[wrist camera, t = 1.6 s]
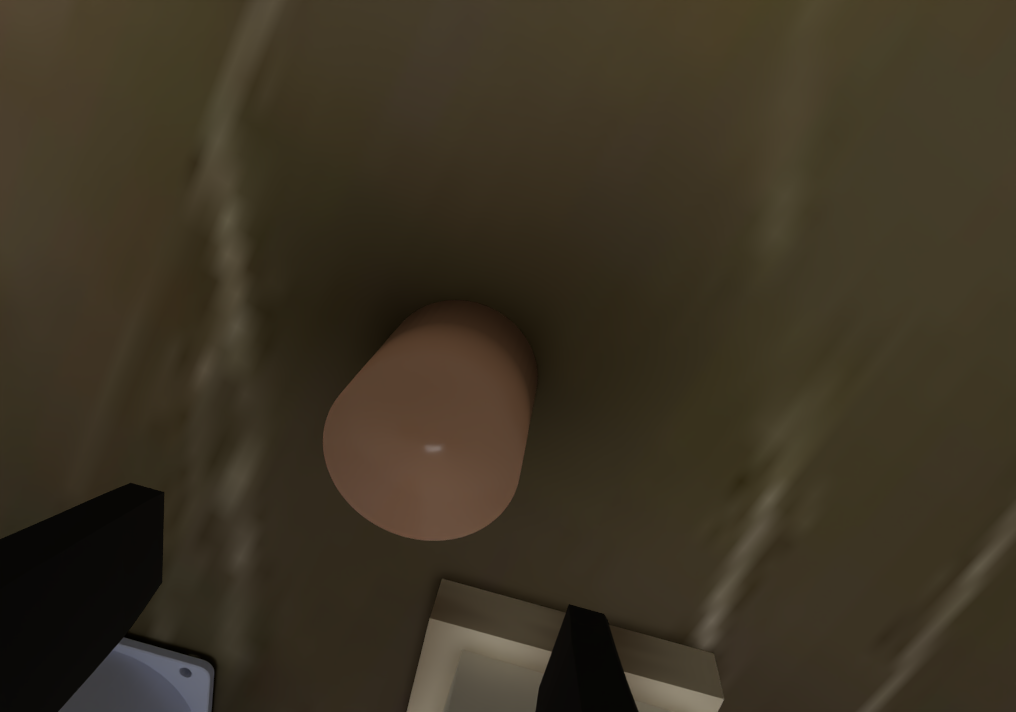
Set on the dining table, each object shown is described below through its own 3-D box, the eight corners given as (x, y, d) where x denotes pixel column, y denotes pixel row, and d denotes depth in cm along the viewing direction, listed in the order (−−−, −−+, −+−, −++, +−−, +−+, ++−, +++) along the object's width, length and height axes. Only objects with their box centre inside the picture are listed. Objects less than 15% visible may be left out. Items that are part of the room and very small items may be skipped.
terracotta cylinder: (374, 420, 21) (312, 511, 16) (398, 281, 19) (336, 339, 14) (517, 459, 21) (495, 562, 16) (555, 323, 19) (543, 396, 14)
